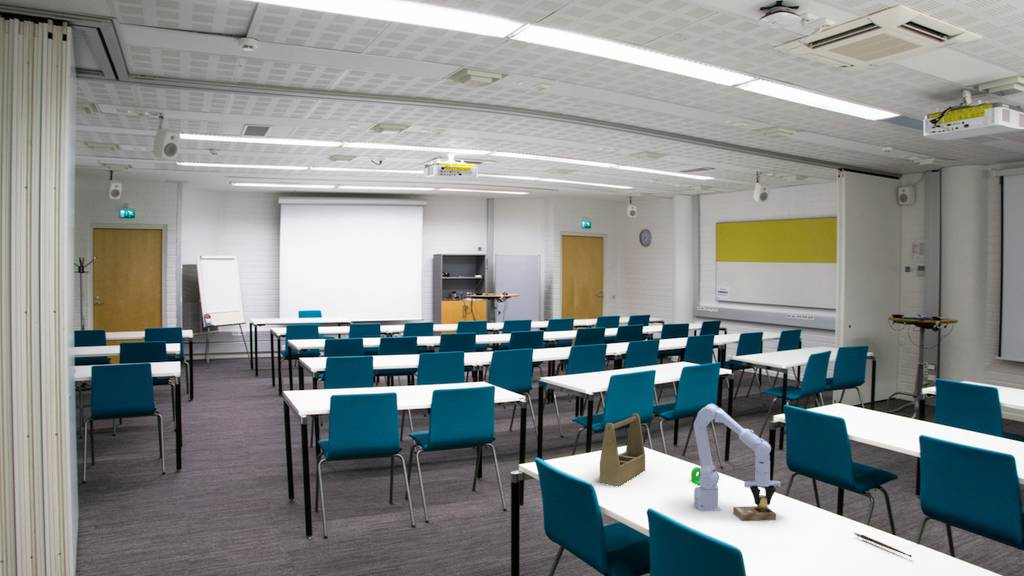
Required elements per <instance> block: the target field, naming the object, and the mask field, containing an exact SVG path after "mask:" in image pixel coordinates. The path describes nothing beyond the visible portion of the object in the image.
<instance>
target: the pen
mask: <svg viewBox="0 0 1024 576" xmlns="http://www.w3.org/2000/svg"><path fill="white" fill-rule="evenodd" d="M853 535H855V536H857V537H858V538H861V539H864V540H866V541H869V542H872V543H874V544H876V545H878V546H881V547H884V548H886V549H889V550H892V551H894V552H898V553H900V554H903V555H906V556H908V557H910V558H912V556H913V555H911V554H908V553H906V552H904V551H901V550H899V549H896V548H895V547H892V546H891V545H888V544H885V543H883V542H881V541H878V540H875V539H873V538H871V537H868V536H866V535H863V534H859V533H857V532H853Z"/></svg>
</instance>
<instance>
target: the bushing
mask: <svg viewBox="0 0 1024 576" xmlns="http://www.w3.org/2000/svg"><path fill="white" fill-rule="evenodd" d="M756 506H757V511H758V512H761V513H762V512H768V508H769V505H768V497H767V496H766V495H763V494H759V505H756Z"/></svg>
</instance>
